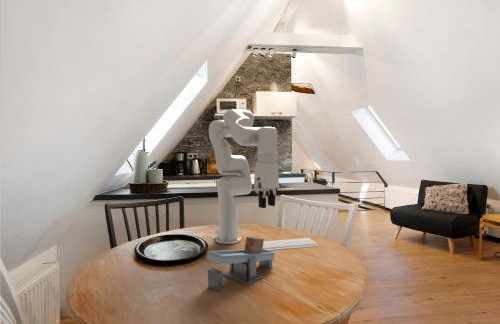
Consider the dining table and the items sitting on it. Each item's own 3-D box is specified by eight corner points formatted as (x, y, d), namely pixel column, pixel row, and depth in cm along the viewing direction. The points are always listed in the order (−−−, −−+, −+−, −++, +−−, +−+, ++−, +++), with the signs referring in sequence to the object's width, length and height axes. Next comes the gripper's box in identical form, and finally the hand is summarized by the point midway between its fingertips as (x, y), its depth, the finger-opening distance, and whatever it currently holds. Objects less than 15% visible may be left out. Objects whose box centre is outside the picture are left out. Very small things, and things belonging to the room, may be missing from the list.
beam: (205, 258, 103) (206, 250, 103) (258, 255, 124) (259, 247, 124) (221, 264, 98) (223, 255, 98) (274, 259, 119) (275, 252, 119)
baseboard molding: (320, 248, 144) (308, 240, 156) (320, 242, 144) (308, 235, 155) (256, 254, 136) (248, 245, 147) (256, 247, 135) (249, 239, 147)
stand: (201, 284, 105) (201, 261, 104) (255, 261, 126) (255, 242, 125) (225, 295, 97) (226, 271, 96) (279, 269, 118) (279, 249, 117)
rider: (243, 253, 115) (246, 236, 115) (252, 252, 118) (255, 236, 119) (252, 255, 112) (255, 239, 112) (261, 255, 115) (263, 238, 116)
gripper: (273, 158, 128) (272, 202, 129) (245, 159, 115) (244, 208, 116) (288, 159, 123) (287, 204, 124) (260, 160, 110) (260, 211, 111)
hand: (266, 206), depth 120 cm, fingers open, 4 cm apart
